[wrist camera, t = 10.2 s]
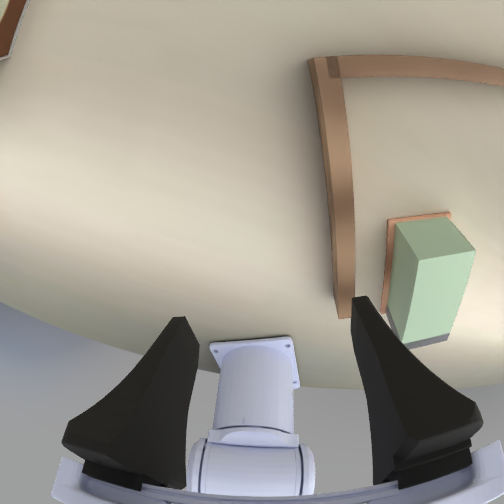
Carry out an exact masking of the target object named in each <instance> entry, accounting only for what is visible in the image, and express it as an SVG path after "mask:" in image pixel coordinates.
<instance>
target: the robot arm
mask: <svg viewBox="0 0 504 504" xmlns="http://www.w3.org/2000/svg"><path fill="white" fill-rule="evenodd" d="M351 335H352V341H353V347H354V352H355V356H356V360H357V363H358V367H359V371H360V375H361V378H362V382H363V386H364V390H365V394H366V398H367V405H368V412H369V421H370V431H371V441H372V457H373V486H369V487H364V488H359V489H353V490H347V491H340V492H332V493H323V494H313V492H314V485H315V462H314V457H313V453H312V452H311V450H310V449H309V448H308V447H307V446H306V445H305V444H299V435H298V434H294V414H293V413H294V412H293V411H294V410H293V389H296V388H299V387H300V382H299V375H298V369H297V363H296V357H295V351H294V346H293V340H292V338H291V337H277V338H267V339H256V340H244V341H231V342H215V343H211V344H210V347H209V348H210V350H211V352H212V354H213V356H214V358H215V360H216V362H217V364H218V366H219V368H220V370H221V372H220V380H219V386H218V394H217V401H216V407H215V414H214V422H213V429H210V430H209V432H208V439H206V438H200V439H199V440H198V441H197V442H196V443H194V444H193V446H192V448H191V451H190V455H189V460H188V466H187V474H186V465H185V451H186V449H185V448H186V428H187V417H188V410H189V404H190V399H191V395H192V390H193V386H194V381H195V376H196V372H197V367H198V359H199V347H200V345H199V343H198V341H197V339H196V337H195V335H194V333H193V331H192V329H191V327H190V325H189V323H188V321H187V319H186V317H185V316H184V317H173V318H172V319H171V320H170V322H169V323H168V324H167V326H166V327H165V328H164V330H163V331H162V333H161V334H160V335H159V337H158V338H157V339H156V341H155V342H154V343H153V345H152V346H151V347H150V349H149V350H148V351H147V353H146V354H145V355H144V356H143V358H142V359H141V360H140V362H139V363H138V364H137V365H136V366H135V368H134V369H133V370H132V371H131V372H130V373H129V374H128V375H127V376H126V378H124V379H123V380H122V381H121V382H120V384H118V386H116V387H115V388H114V389H113V390H112V391H111V392H110V393H108V394H107V395H106V396H105V397H104V398H103V399H102V400H100V401H99V402H97V403H96V404H95V405H94V406H92V407H91V408H89V409H88V410H86V411H85V412H83V413H82V414H80V415H79V416H77V417H75V418H74V419H72V420H70V421H69V422H68V425H67V428H66V430H65V433H64V436H63V439H62V444H63V446H64V447H66V448H67V449H69V450H70V451H71V452H73V453H75V454H77V455H78V456H80V457H81V458H83V459H85V463H84V464H82V463H80V462H77V461H75V460H72V459H69V458H67V457H64V456H63V457H62V459H61V462H60V465H59V468H58V472H57V475H56V479H55V482H54V486H53V489H52V493H51V496H52V497H53V498H55V499H57V500H59V501H61V502H63V503H65V504H171V503H173V504H364V503H367V504H486V503H488V502H490V501H492V500H494V499H496V498H497V497H499V496H501V495H503V494H504V454H503V450H502V447H501V443H500V440H497V441H495V442H493V443H491V444H489V445H487V446H484V447H482V448H480V449H478V450H476V451H474V452H472V453H470V449H469V448H470V447H471V445H472V444H471V440H470V438H471V437H472V436H473V435H474V434H475V433H476V432H477V431H478V430H479V429H480V428H481V427H482V425H483V419H482V416H481V413H480V411H479V409H478V407H477V405H476V403H475V402H474V401H472V400H470V399H469V398H467V397H465V396H464V395H462V394H461V393H459V392H458V391H456V390H455V389H453V388H452V387H451V386H449V385H448V384H446V383H445V382H444V381H443V380H441V379H440V378H439V377H438V376H436V375H435V374H434V373H433V372H431V371H430V370H429V369H428V368H427V367H426V366H425V365H424V364H422V363H421V362H420V361H419V360H418V359H417V358H416V357H415V356H414V355H413V354H412V353H411V352H410V351H409V350H408V348H407V347H406V346H405V345H404V344H403V343H402V342H401V341H400V340H399V338H398V337H397V336H396V335H395V334H394V332H393V331H392V330H391V329H390V327H389V326H388V325H387V324H386V322H385V321H384V320H383V318H382V317H381V315H380V314H379V313H378V311H377V310H376V308H375V307H374V306H373V304H372V302H371V301H370V299H369V298H368V297H367V296H360V297H354V298H352V308H351ZM164 487H166V488H164ZM185 487H186V490H187V491H182V490H181V489H183V488H185ZM169 488H173V489H169ZM175 489H178V490H175ZM179 489H180V490H179Z"/></svg>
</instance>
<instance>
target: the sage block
mask: <svg viewBox="0 0 504 504" xmlns="http://www.w3.org/2000/svg"><path fill="white" fill-rule="evenodd" d="M475 252H476V250H475V248H474V247H473V246H472V245H471V244H470V242H469V241H468V240H467V239H466V238H465V236H464V235H463V234H462V233H461V232H460V231H459V230H458V228H457V227H456V226H455V225H454V224H453V223H452V222H451V221H450V219H449V218H448V217H447V216H446V217H438V218H430V219H422V220H414V221H406V222H398V223H395V234H394V248H393V259H392V269H391V278H390V287H389V295H388V302H387V307H386V314H387V317H388V320H389V323H390V326H391V329H392V331H393V332H394V334H395V335H396V336H397V337H398V338H399V340H400V341H401V342H402V343H403V344H404V345H405V346H406V347H407V348H408V350H409V349H413V348H418V347H422V346H426V345H430V344H434V343H438V342H442V341H446V340H447V339H448V336H449V334H450V331H451V328H452V325H453V323H454V320H455V317H456V315H457V312H458V309H459V306H460V303H461V300H462V297H463V294H464V291H465V288H466V285H467V282H468V278H469V275H470V271H471V268H472V264H473V260H474V256H475Z"/></svg>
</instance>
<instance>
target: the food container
mask: <svg viewBox="0 0 504 504" xmlns="http://www.w3.org/2000/svg"><path fill="white" fill-rule="evenodd" d="M29 1H30V0H0V61H1V60H4V59H7V58H10V57H11V53H12V50H13V46H14V43H15V40H16V37H17V34H18V31H19V28H20V25H21V22H22V19H23V16H24V14H25V11H26V9H27V6H28V4H29Z"/></svg>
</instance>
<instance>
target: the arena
mask: <svg viewBox="0 0 504 504" xmlns="http://www.w3.org/2000/svg"><path fill="white" fill-rule="evenodd" d="M308 64H309V69H310V74H311V80H312V85H313V91H314V97H315V103H316V109H317V116H318V122H319V129H320V136H321V143H322V151H323V159H324V167H325V176H326V186H327V195H328V206H329V218H330V230H331V245H332V261H333V282H334V299H335V304H336V309H337V314H338V319H345V318H351V308H352V298H354V297H355V220H354V196H353V179H352V166H351V154H350V143H349V134H348V125H347V116H346V109H345V101H344V94H343V87H342V81H341V78H349V77H373V76H407V77H430V78H444V79H455V80H464V81H473V82H480V83H486V84H493V85H498V86H504V69H501V68H497V67H492V66H487V65H482V64H477V63H471V62H465V61H458V60H450V59H442V58H432V57H420V56H403V55H349V56H331V57H318V58H312V59H309V60H308ZM446 216H447V217H448V218H449V219H451V213H450V212H445V213H437V214H429V215H421V216H413V217H405V218H397V219H389V220H388V228H387V248H386V262H385V274H384V285H383V294H382V303H381V311H380V312H381V314H384V313H386V307H387V302H388V295H389V287H390V278H391V269H392V259H393V248H394V234H395V223H398V222H406V221H414V220H422V219H430V218H438V217H446Z"/></svg>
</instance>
